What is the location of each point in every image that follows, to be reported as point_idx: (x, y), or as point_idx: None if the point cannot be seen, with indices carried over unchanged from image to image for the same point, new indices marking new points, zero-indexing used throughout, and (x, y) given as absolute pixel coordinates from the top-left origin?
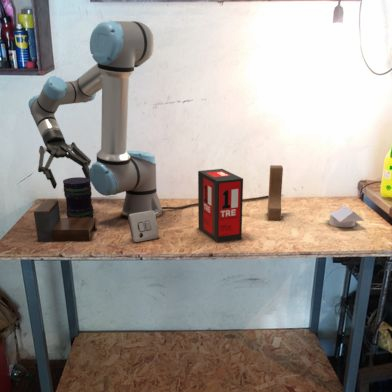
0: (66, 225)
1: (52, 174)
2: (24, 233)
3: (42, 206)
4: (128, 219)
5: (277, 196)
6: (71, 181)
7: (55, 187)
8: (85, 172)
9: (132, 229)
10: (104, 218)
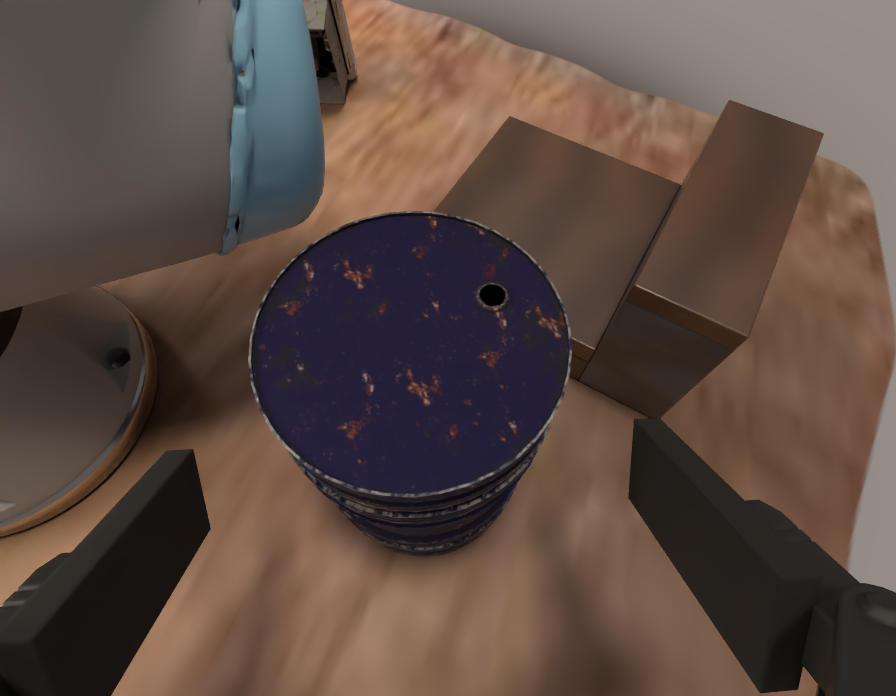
0: (593, 206)
1: (712, 500)
2: (799, 408)
3: (765, 195)
4: (328, 37)
5: None
6: (476, 332)
7: (633, 482)
8: (136, 569)
9: (348, 31)
10: (269, 444)
